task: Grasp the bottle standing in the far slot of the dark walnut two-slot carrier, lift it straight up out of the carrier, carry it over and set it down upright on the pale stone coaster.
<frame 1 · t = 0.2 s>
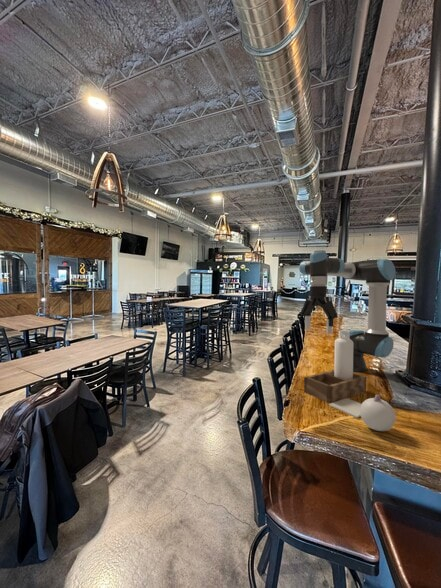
hand: (318, 331, 122), 28 cm above the countertop, fingers open, 13 cm apart
ornament: (376, 429, 90), on the countertop
coaster: (351, 408, 106), on the countertop
carrier: (335, 391, 122), on the countertop
bottle: (343, 389, 125), resting in carrier
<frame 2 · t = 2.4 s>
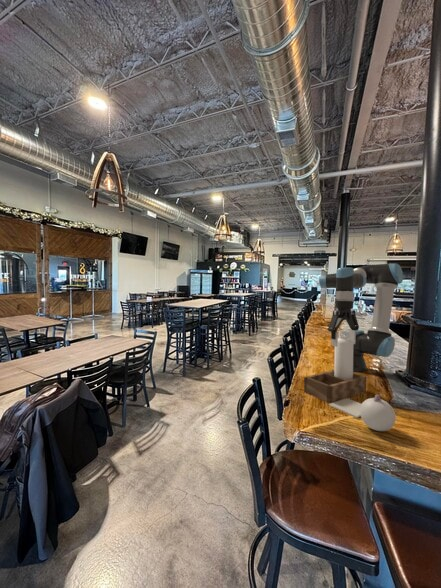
hand: (343, 344, 125), 21 cm above the countertop, fingers open, 13 cm apart
nothing on the countertop moved.
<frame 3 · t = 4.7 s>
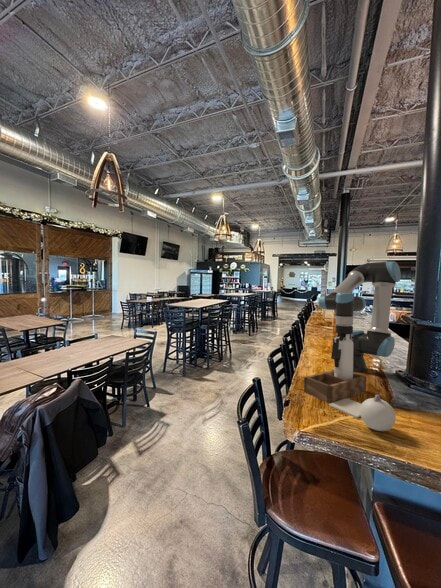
hand: (343, 372, 125), 8 cm above the countertop, fingers closed on bottle, 8 cm apart
bottle: (343, 389, 125), resting in carrier, touching gripper
everything else where it was.
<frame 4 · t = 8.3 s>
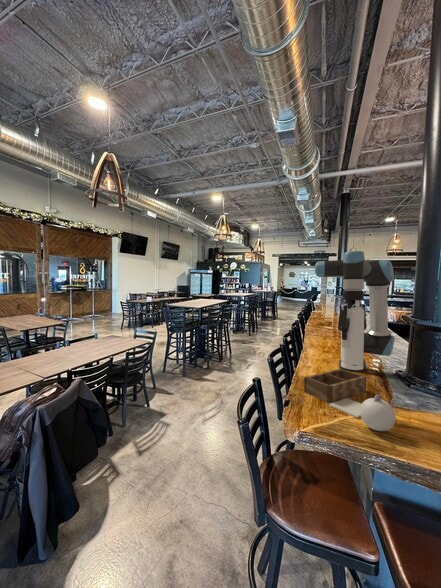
hand: (352, 346, 105), 25 cm above the countertop, fingers closed on bottle, 8 cm apart
bottle: (351, 367, 105), point 17 cm above the countertop, touching gripper
everything else where it was.
when the fingers open (10 cm above the countertop, at t = 11.9 s): bottle stays where it is, resting on coaster.
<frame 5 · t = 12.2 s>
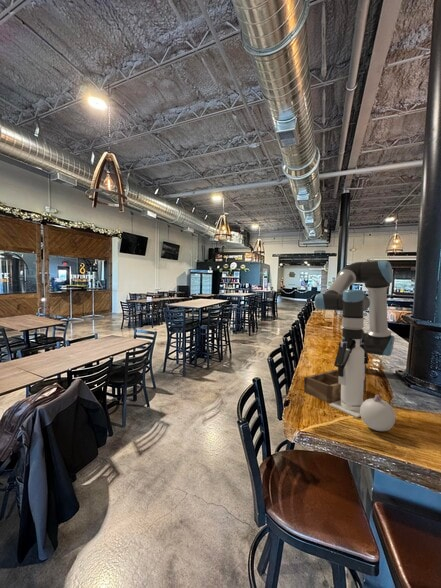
hand: (351, 381, 105), 11 cm above the countertop, fingers open, 12 cm apart
bottle: (351, 406, 106), resting on coaster
everything else where it was.
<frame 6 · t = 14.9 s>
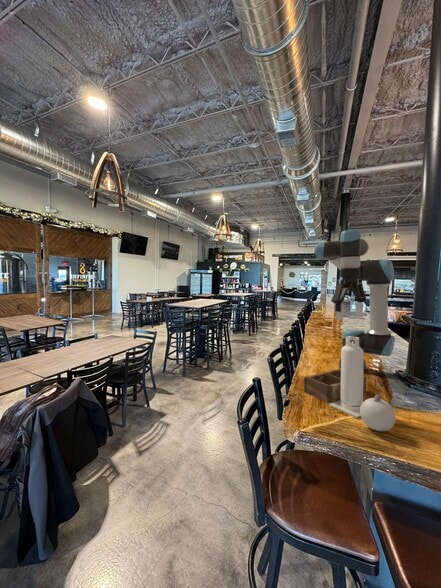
hand: (349, 318, 110), 36 cm above the countertop, fingers open, 13 cm apart
nothing on the countertop moved.
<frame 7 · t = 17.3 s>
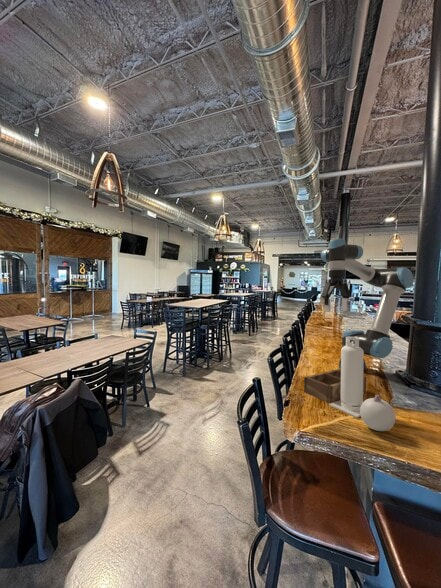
hand: (336, 311, 134), 37 cm above the countertop, fingers open, 13 cm apart
nothing on the countertop moved.
at the end: bottle inside the target area on the coaster (0.1 cm from its centre), point 0.4 cm above the coaster's base; bottle tilted 0°; the gripper is holding nothing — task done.
